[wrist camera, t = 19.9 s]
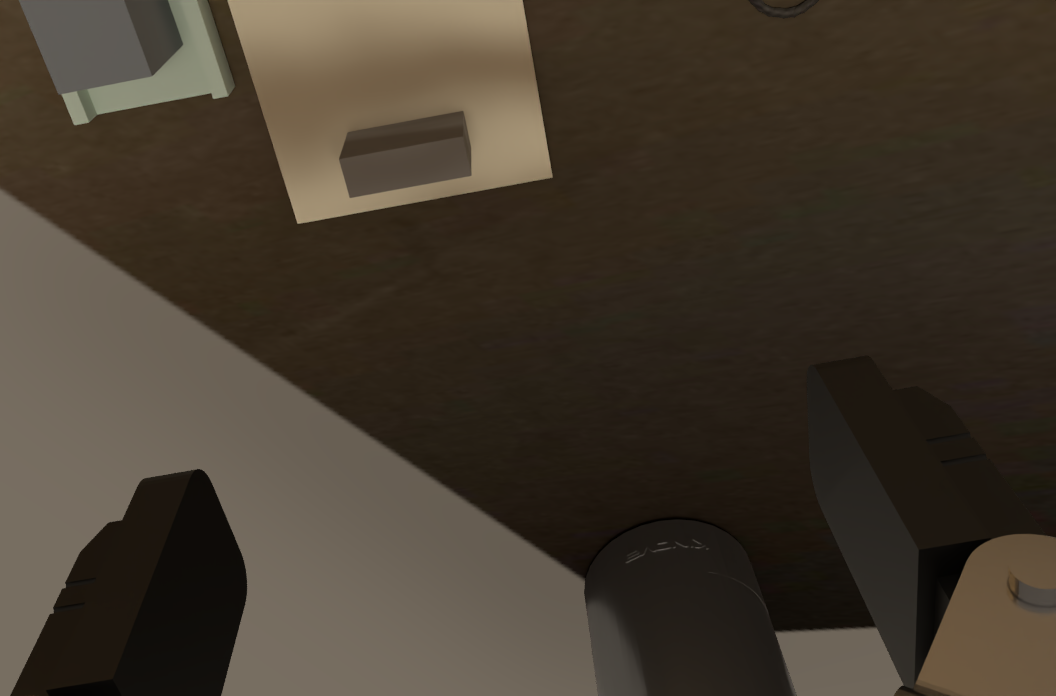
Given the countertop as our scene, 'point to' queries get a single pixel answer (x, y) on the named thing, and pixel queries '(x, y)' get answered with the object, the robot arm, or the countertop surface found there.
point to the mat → (167, 70)
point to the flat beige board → (394, 99)
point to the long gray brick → (102, 39)
